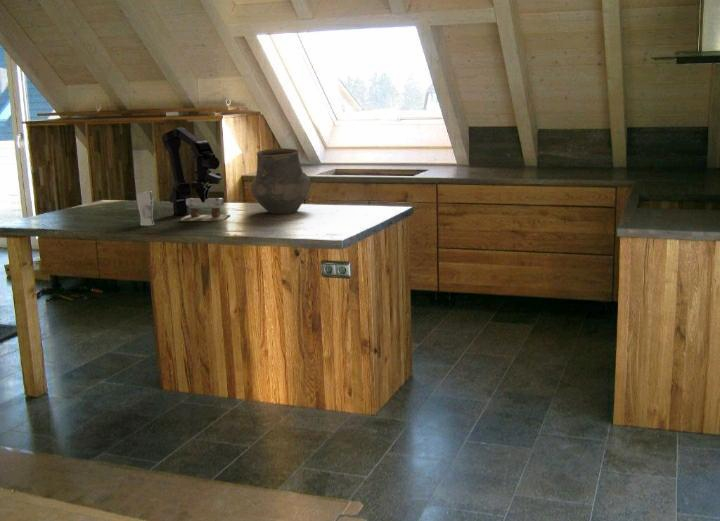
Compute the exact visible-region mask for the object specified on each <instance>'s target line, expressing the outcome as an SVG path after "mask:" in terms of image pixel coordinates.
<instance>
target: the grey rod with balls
mask: <svg viewBox="0 0 720 521" xmlns="http://www.w3.org/2000/svg"><path fill="white" fill-rule="evenodd" d="M224 202H225V201H224V197H208V198H205V202H202V201H201V199H200V197H197V198H196V197H195V198H193V197H191V198H187V199H186V206H189V207H190V206H191V207H192V206H197V207H198V206H200V207H201V206H203V207H204V206H206V207H207V206H208V207H209V206H210V207H211V206H217V207H221V206H224V205H225V203H224Z"/></svg>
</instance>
